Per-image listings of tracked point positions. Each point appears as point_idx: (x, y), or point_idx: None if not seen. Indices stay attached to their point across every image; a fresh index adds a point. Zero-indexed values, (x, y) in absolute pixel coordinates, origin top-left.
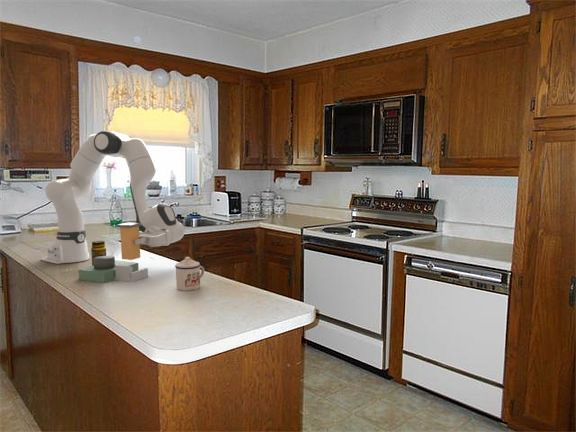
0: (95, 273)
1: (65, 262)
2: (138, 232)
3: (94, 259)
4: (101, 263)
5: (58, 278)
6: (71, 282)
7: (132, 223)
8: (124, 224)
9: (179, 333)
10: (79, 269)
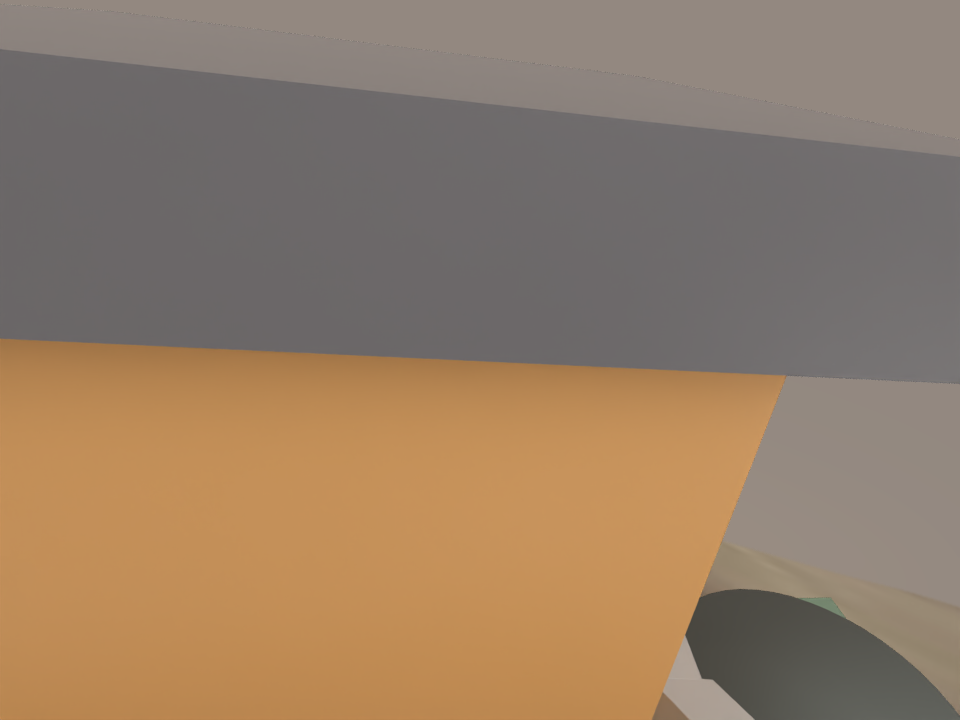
0: None
1: None
2: (2, 603)
3: (778, 594)
4: None
5: (937, 616)
6: (725, 582)
7: (325, 57)
8: (446, 55)
9: None
10: (829, 604)
